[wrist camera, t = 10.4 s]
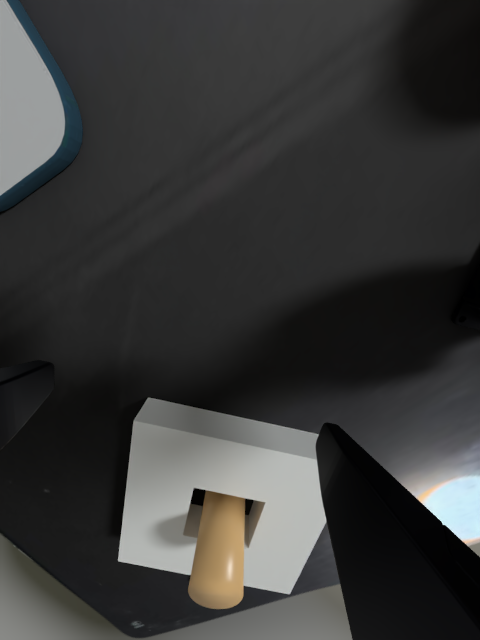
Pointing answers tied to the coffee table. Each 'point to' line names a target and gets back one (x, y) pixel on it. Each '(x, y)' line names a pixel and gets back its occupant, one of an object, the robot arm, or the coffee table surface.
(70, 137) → the external hard drive
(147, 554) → the grey board with hole
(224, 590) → the tan peg
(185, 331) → the coffee table surface
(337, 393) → the coffee table surface
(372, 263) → the coffee table surface
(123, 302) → the coffee table surface
